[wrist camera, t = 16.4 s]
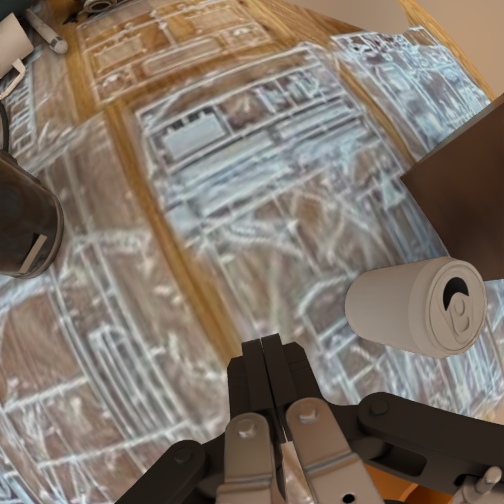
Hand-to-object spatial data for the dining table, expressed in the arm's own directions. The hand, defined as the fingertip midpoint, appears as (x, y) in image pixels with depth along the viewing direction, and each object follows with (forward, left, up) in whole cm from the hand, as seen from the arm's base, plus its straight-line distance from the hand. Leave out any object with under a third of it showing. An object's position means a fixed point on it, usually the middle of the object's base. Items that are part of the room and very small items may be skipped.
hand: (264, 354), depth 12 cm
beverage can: (+5, +11, -14) cm, 18 cm away
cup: (-46, -10, -10) cm, 48 cm away
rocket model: (-53, -9, -13) cm, 55 cm away
